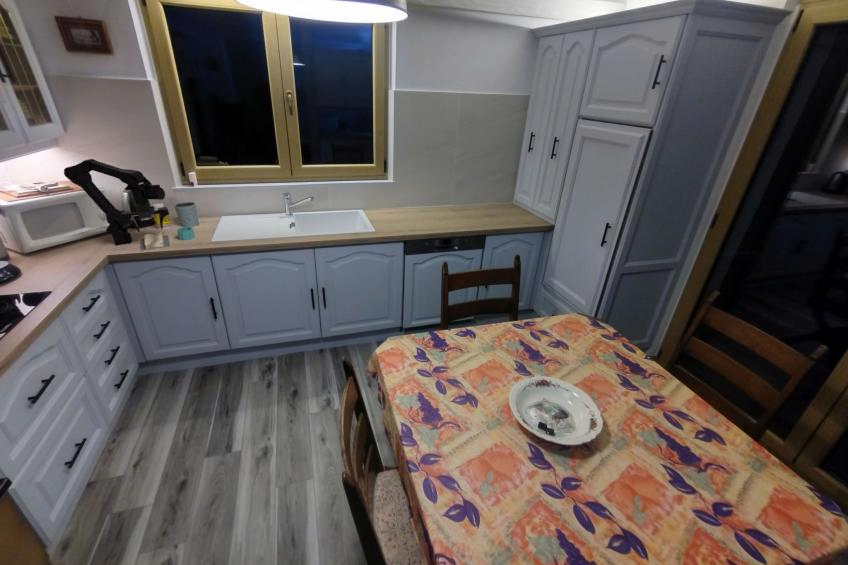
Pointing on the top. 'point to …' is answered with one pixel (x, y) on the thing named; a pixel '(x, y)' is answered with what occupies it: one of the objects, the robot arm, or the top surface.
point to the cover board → (154, 240)
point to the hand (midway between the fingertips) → (150, 230)
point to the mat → (166, 244)
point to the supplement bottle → (165, 221)
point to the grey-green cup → (187, 214)
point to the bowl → (185, 233)
